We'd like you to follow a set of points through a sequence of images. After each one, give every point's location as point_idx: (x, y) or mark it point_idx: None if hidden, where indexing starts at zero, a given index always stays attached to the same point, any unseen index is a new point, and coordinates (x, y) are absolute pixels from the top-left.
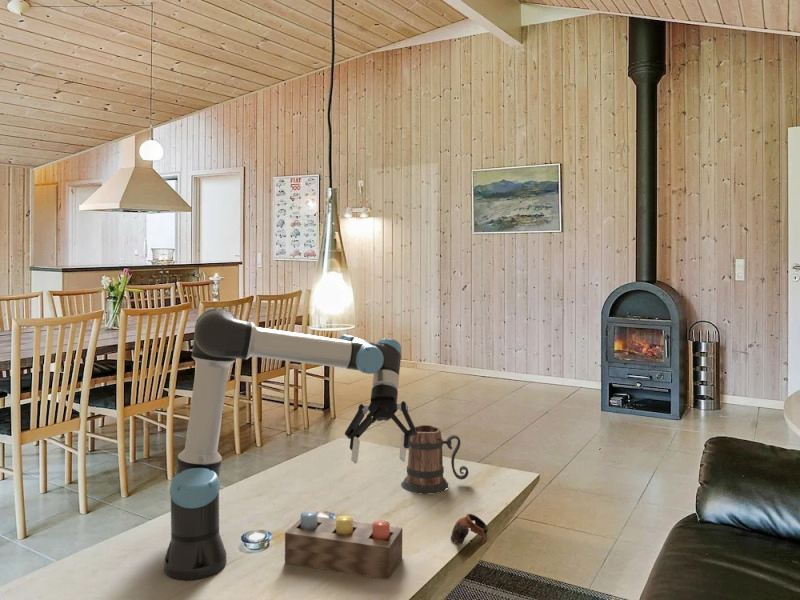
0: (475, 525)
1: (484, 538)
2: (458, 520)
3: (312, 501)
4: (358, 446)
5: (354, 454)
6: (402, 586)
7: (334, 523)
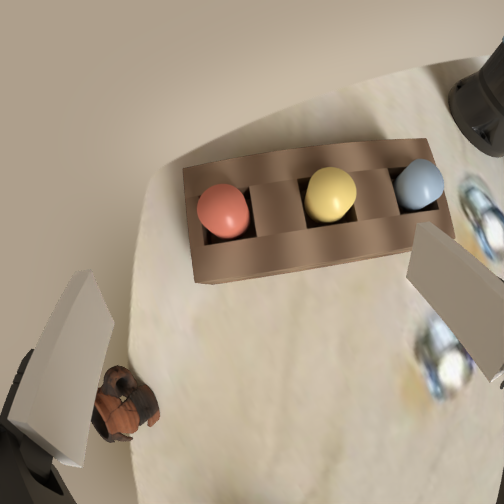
0: None
1: None
2: (128, 417)
3: (485, 412)
4: (468, 337)
5: (437, 242)
6: (170, 184)
7: (372, 225)
